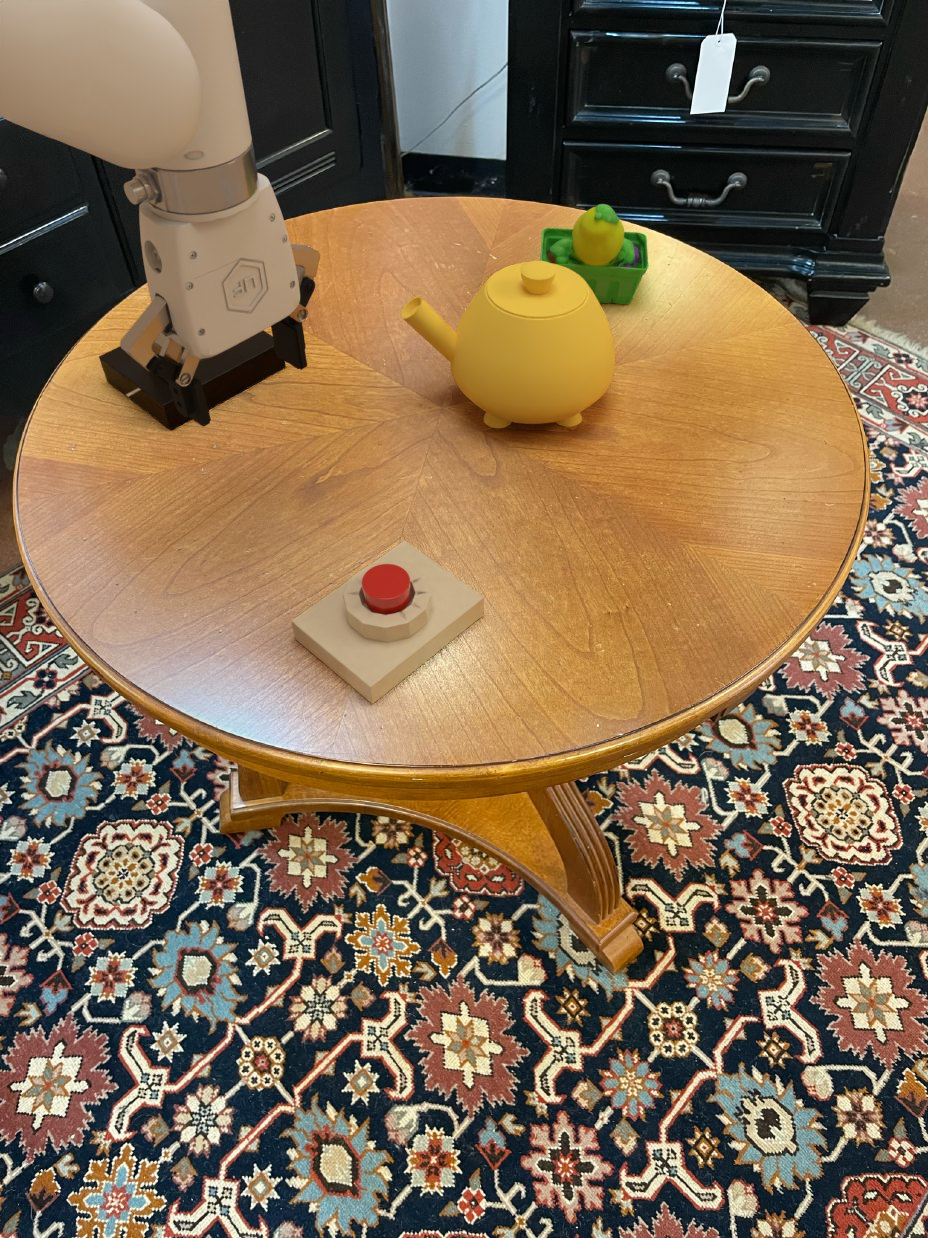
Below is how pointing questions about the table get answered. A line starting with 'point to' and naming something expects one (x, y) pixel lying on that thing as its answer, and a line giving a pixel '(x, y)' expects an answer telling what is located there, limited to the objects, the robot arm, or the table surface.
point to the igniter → (388, 624)
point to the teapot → (526, 345)
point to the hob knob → (158, 346)
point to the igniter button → (386, 589)
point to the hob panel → (215, 374)
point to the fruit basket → (599, 254)
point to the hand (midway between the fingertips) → (245, 388)
